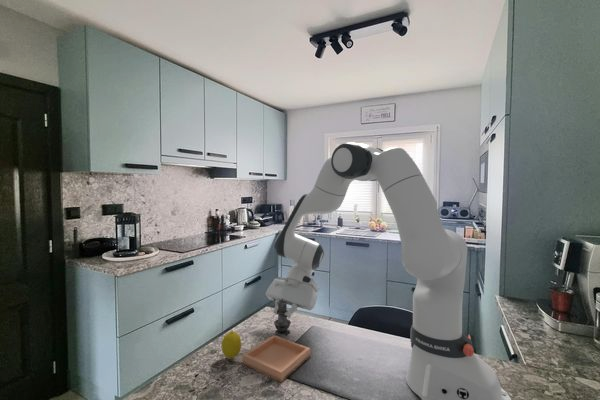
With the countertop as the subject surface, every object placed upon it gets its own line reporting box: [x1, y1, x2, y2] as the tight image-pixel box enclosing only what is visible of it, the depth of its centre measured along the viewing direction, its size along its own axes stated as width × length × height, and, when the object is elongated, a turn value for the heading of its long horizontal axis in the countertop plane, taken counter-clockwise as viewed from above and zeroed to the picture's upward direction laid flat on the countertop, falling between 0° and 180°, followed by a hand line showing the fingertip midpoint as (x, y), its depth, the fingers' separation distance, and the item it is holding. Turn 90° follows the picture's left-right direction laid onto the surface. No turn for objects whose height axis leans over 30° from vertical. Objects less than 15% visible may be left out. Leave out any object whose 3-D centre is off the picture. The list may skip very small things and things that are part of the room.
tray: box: [242, 334, 311, 383], centre depth 79 cm, size 14×14×2 cm
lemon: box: [221, 330, 242, 360], centre depth 80 cm, size 6×6×8 cm
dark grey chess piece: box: [273, 299, 292, 337], centre depth 96 cm, size 6×6×12 cm
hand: (281, 315), depth 95 cm, fingers closed on dark grey chess piece, 4 cm apart
